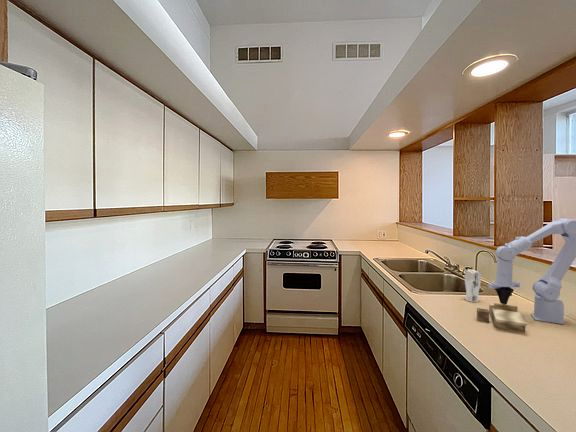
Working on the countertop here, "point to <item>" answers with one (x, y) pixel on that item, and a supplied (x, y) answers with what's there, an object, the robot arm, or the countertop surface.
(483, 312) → the block
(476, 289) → the beer glass
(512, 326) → the brown divided tray
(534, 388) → the countertop surface
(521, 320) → the lid
